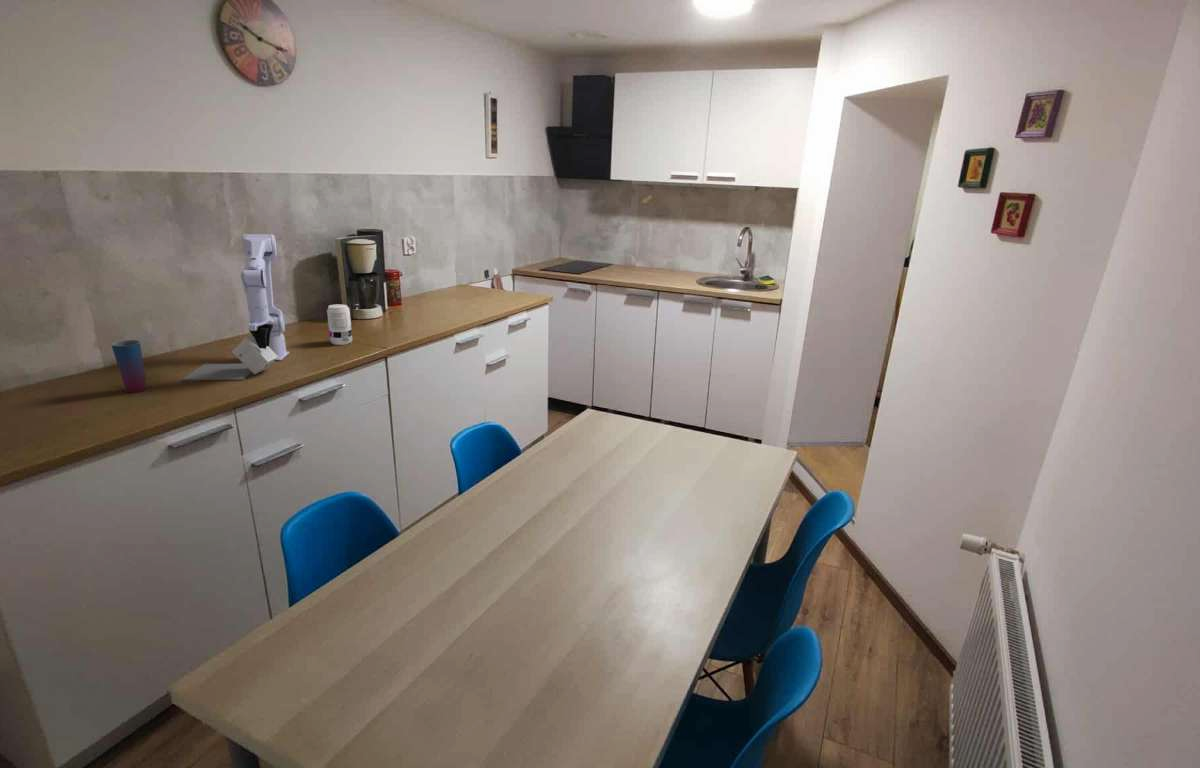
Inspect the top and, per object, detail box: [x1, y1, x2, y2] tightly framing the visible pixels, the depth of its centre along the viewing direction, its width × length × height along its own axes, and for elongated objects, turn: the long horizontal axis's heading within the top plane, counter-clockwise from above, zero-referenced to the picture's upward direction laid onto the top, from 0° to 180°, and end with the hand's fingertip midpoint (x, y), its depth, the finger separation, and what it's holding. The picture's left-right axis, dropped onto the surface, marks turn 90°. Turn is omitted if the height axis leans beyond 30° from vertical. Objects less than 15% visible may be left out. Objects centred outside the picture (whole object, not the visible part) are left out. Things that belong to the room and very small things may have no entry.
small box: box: [231, 334, 278, 375], centre depth 198 cm, size 8×6×10 cm
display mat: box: [181, 363, 253, 382], centre depth 198 cm, size 16×18×1 cm
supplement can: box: [326, 303, 353, 346], centre depth 235 cm, size 8×8×15 cm
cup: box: [110, 339, 148, 394], centre depth 178 cm, size 7×7×15 cm
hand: (264, 347), depth 197 cm, fingers closed
